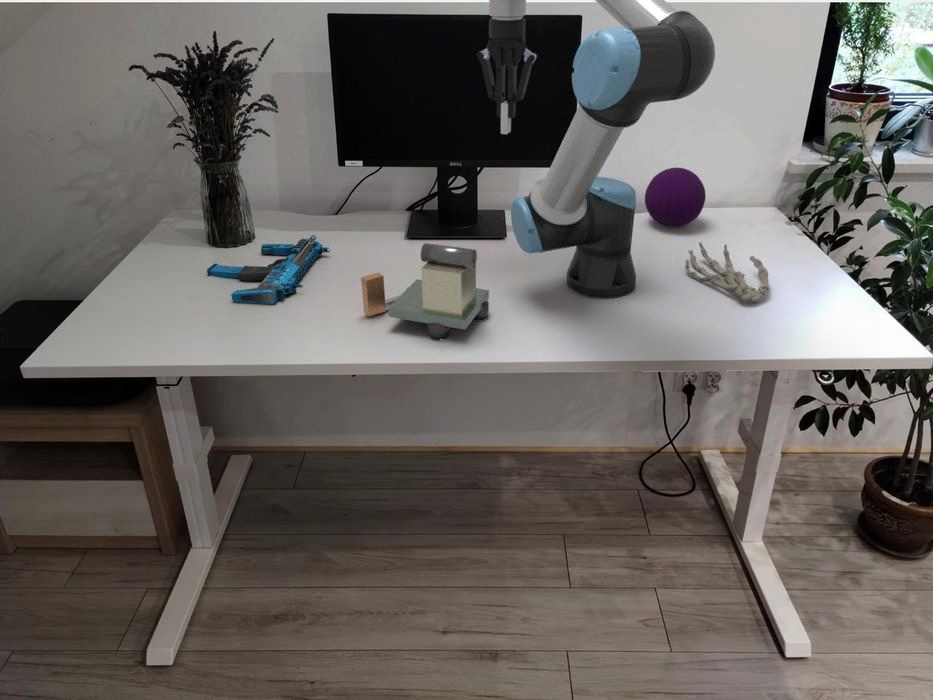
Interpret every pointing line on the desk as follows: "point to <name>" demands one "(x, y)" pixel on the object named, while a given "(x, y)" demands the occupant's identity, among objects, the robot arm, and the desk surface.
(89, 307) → the desk surface
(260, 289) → the submachine gun
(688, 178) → the toy ball
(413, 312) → the footed square platform
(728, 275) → the skeleton model
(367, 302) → the footscrew lever
